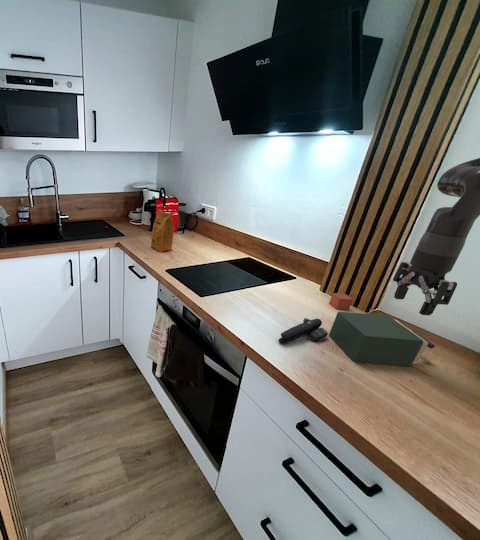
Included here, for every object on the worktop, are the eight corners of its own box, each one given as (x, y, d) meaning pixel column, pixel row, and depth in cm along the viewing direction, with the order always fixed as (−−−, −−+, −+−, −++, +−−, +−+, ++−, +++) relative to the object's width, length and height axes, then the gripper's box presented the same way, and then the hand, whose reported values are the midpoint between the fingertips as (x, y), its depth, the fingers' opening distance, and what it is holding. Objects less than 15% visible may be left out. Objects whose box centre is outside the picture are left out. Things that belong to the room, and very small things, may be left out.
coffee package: (162, 244, 174) (165, 208, 165) (173, 251, 163) (178, 212, 155) (148, 246, 170) (150, 209, 161) (159, 253, 160) (162, 214, 151)
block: (341, 304, 112) (345, 293, 110) (348, 310, 108) (353, 299, 106) (328, 303, 112) (332, 292, 110) (335, 309, 108) (339, 298, 106)
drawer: (402, 340, 90) (412, 320, 87) (435, 365, 79) (447, 344, 76) (341, 335, 91) (349, 315, 88) (365, 359, 81) (375, 338, 78)
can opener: (309, 327, 96) (314, 313, 94) (329, 339, 90) (335, 324, 88) (269, 337, 91) (273, 322, 88) (287, 350, 85) (293, 335, 82)
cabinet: (376, 339, 91) (388, 315, 88) (408, 367, 80) (423, 340, 76) (328, 335, 92) (337, 311, 89) (353, 362, 81) (365, 336, 77)
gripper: (484, 261, 64) (450, 321, 71) (429, 242, 77) (404, 294, 84) (447, 259, 65) (417, 319, 72) (398, 241, 78) (377, 293, 85)
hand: (410, 306), depth 78 cm, fingers open, 8 cm apart
